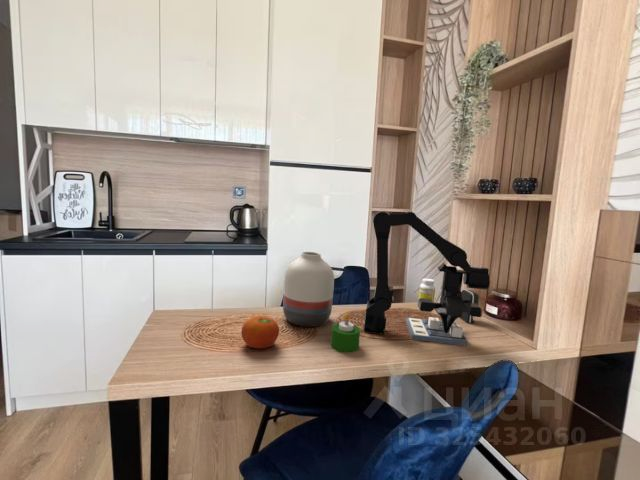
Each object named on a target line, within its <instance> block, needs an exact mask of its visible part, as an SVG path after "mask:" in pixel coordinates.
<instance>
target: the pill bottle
mask: <svg viewBox="0 0 640 480" xmlns="http://www.w3.org/2000/svg"><path fill="white" fill-rule="evenodd" d="M421 282H422V283H421V284H420V285H419V290H418V291H419V294H418V300H419V299H420V298H427V299H431V300H432V302H435V294H436V293H435V292H436V286H435V280H434V279H432V278H422V281H421Z"/></svg>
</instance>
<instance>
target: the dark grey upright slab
mask: <svg viewBox="0 0 640 480" xmlns="http://www.w3.org/2000/svg"><path fill="white" fill-rule="evenodd" d="M461 292H462V296H461V297H462V300H470V301H471V303H476V304H477V305H478V306H479V299H480V297H479V294H478V293H477V292H475V291H474V290H470V289H463V290H462V289H461ZM460 319H461V320H462V321H464V322H466V323H468V324H472V323H474V322H475V320H474V317H473V316H471V315H470V314H469V312H468V313H465V312H463V316H462V317H461V318H460Z"/></svg>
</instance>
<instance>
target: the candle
mask: <svg viewBox="0 0 640 480" xmlns="http://www.w3.org/2000/svg"><path fill="white" fill-rule="evenodd" d="M330 336H331V338H330V348H332V349H333V350H334V351H337V352H340V353H347V354H348V353H355V352H357V351H358V350H359V346H360V336H361V328H360V327H359V326H357V325H355V324H354V323H352V322H351V321H350V315H349V313H345V315H344V321H340V322H339V323H335V324H333V325H332V327H331V335H330Z"/></svg>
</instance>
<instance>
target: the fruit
mask: <svg viewBox="0 0 640 480" xmlns="http://www.w3.org/2000/svg"><path fill="white" fill-rule="evenodd" d="M279 328H280V327H279V325H278V323H277V321H275V320H274V318H272V317H270V316H266V315H256V316H255V315H254V316H252V317H250V318H249V319H247V320H246V321H245V322H244V323H243V325H242V327H241V338H242V340H243V342H244V343H245V344H246V345H247V346H248V347H250V348H253V349H267V348H269V347H272V346H273V345H274V343H275V342H276V341H277V339H278V337H279V335H280V329H279Z"/></svg>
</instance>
